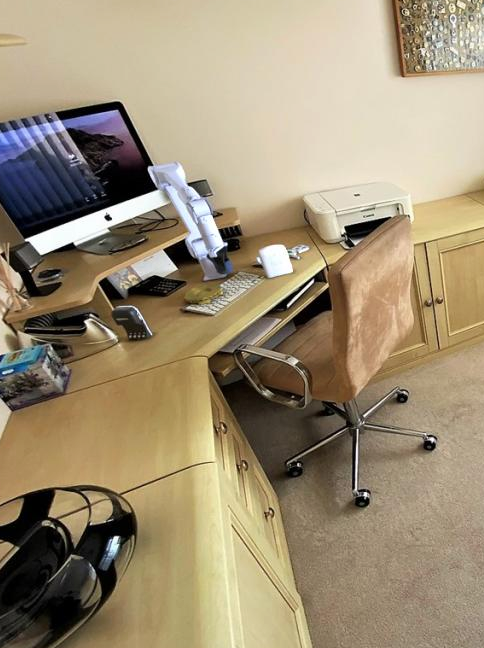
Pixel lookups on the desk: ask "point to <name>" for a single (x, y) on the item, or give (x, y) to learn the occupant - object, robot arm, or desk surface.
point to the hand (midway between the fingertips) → (224, 267)
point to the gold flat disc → (203, 294)
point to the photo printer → (275, 260)
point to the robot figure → (291, 252)
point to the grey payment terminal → (132, 322)
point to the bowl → (228, 267)
